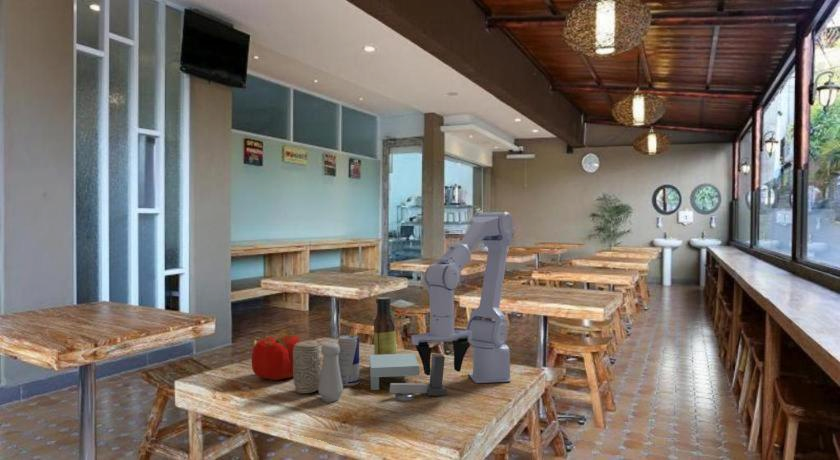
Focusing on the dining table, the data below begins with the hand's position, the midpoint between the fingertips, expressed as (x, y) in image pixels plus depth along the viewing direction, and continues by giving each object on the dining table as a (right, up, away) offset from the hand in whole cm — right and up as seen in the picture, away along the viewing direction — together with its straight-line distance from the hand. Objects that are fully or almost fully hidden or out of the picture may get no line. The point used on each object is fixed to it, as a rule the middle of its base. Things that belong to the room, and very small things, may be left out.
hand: (442, 372), depth 119 cm
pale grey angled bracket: (-12, -6, +13) cm, 19 cm away
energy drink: (-24, -6, +11) cm, 27 cm away
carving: (-33, -6, +5) cm, 34 cm away
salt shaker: (-26, -7, 0) cm, 27 cm away
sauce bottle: (-15, -6, +25) cm, 30 cm away
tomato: (-43, -6, +17) cm, 47 cm away
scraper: (-6, -5, +2) cm, 8 cm away
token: (-9, -7, 0) cm, 11 cm away
